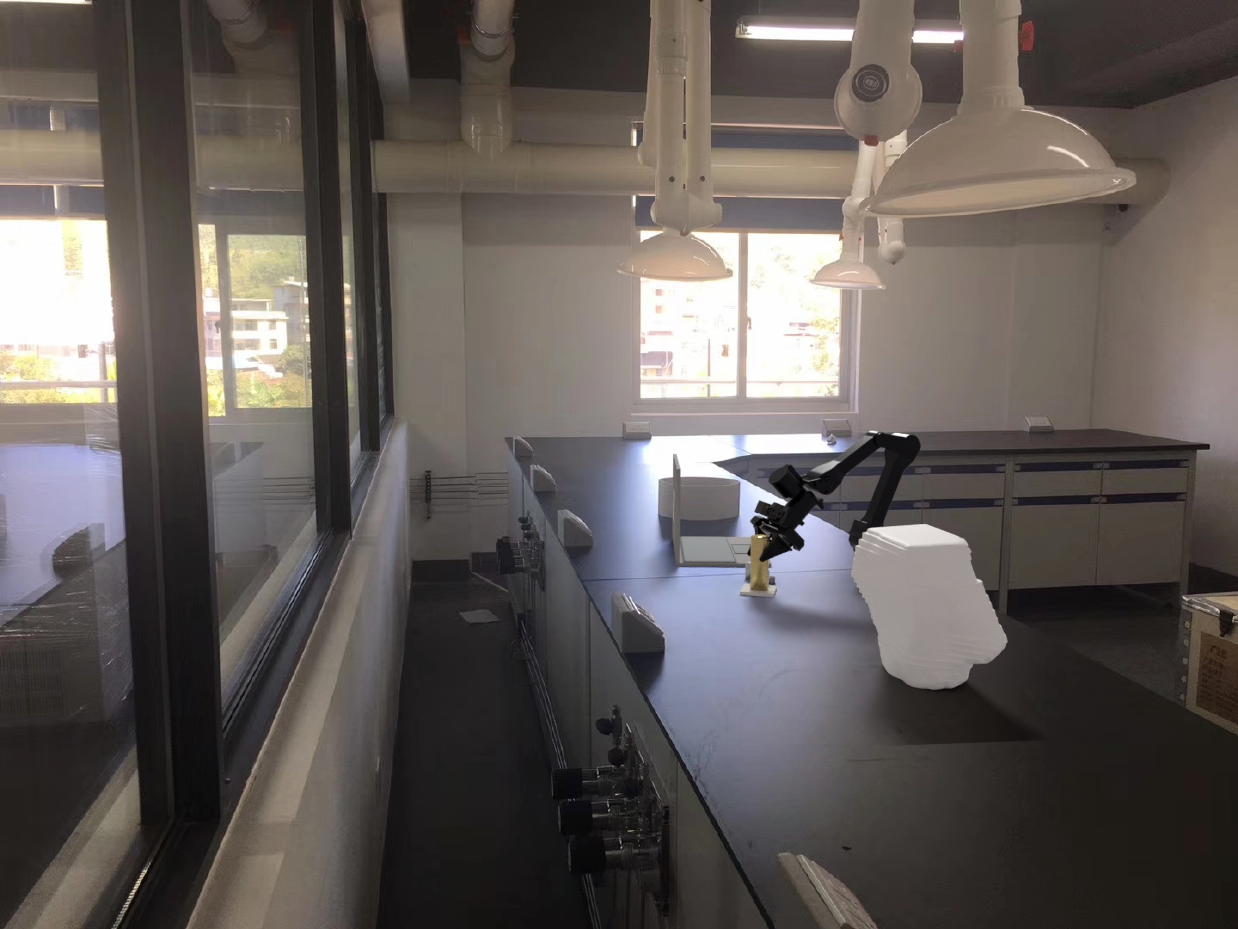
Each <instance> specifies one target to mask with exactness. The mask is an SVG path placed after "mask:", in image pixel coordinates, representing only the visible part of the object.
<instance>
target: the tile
mask: <svg viewBox="0 0 1238 929" xmlns="http://www.w3.org/2000/svg"><path fill="white" fill-rule="evenodd" d="M777 590H778V585H774V584H769V585H768V590H766V591H755V590H751V589H750V583H744V584H743V586H742V588H741V589H740V591H739V596H740V595H741V596H753V597H763V598H765V597H766V598H774V597H775V594H776V592H777Z"/></svg>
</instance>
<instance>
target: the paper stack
mask: <svg viewBox="0 0 1238 929" xmlns="http://www.w3.org/2000/svg"><path fill="white" fill-rule="evenodd" d="M971 553H972V549H971V548H970V547H969V544H968V542H967V541H966V539H965V538H963V537H960V536H958V535H956V534H954V533H951V532H948V531H945V530H943V529H940V528H938V527H934V526H932V525H929V524H927V523H923V524H920V523H919V524H918V523H917V524H908V525H907V524H905V525H894V526H893V525H891V526H884V527H876V528H869V529H868V530H867V531H866V532H864V533H862V539H859V545H857V546H855V552H854V551H853V555H854V557H853V558H852V566H851V567H852V568H851V573H850V577H851V578H853V583H856V588H858V592H859V594H861V598H863V599H864V602H865V603H866V604H867V605H868V606H867V607H868V608H869V614H871V615H870V619H871V620H872V624H873V625H874V626H875V628H876V631H877V635H878V636H877V643H878V644H877V646H878V647H879V653H880V654H879V655H880V659H881V662H882V663H881V665H882V666H883V667H884V670H886V672H887V673H888V674H889V675H891V676H892V677H893V678H896V679H899V680H902V682H904V683H905V684H906V685H907V686H910V687H913V688H915V689H924V690H925V689H927V690H928V689H929V690H932V691H933V690H935V691H938V690H943V689H953V688H956V687H957V686H961V685H962V684H964V683H965V682H967V680H968V679H969V675H970V672H971V669H972V668H973V667H974V666H973V665H983V664H989V663H990V662H992V661H993V660H994V659H995V658H997V656H999V655H1000V653H1002V651H1003V650H1005V648H1006V645H1007V643H1008V638H1007V635H1006V633H1005V632H1004V629H1003V627H1002V625H1001V624H1000V623H999V617H998V616H997V613H996V611H995V609H994V608H993V603H992V602H991V600H990V597H989V594H987V592H986V590H985V587H984V582H983V581H982V580H981V579H979V578H977V576H976V574H975V570H974V568H973V566H972V562H971V561H972V556H971Z"/></svg>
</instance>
